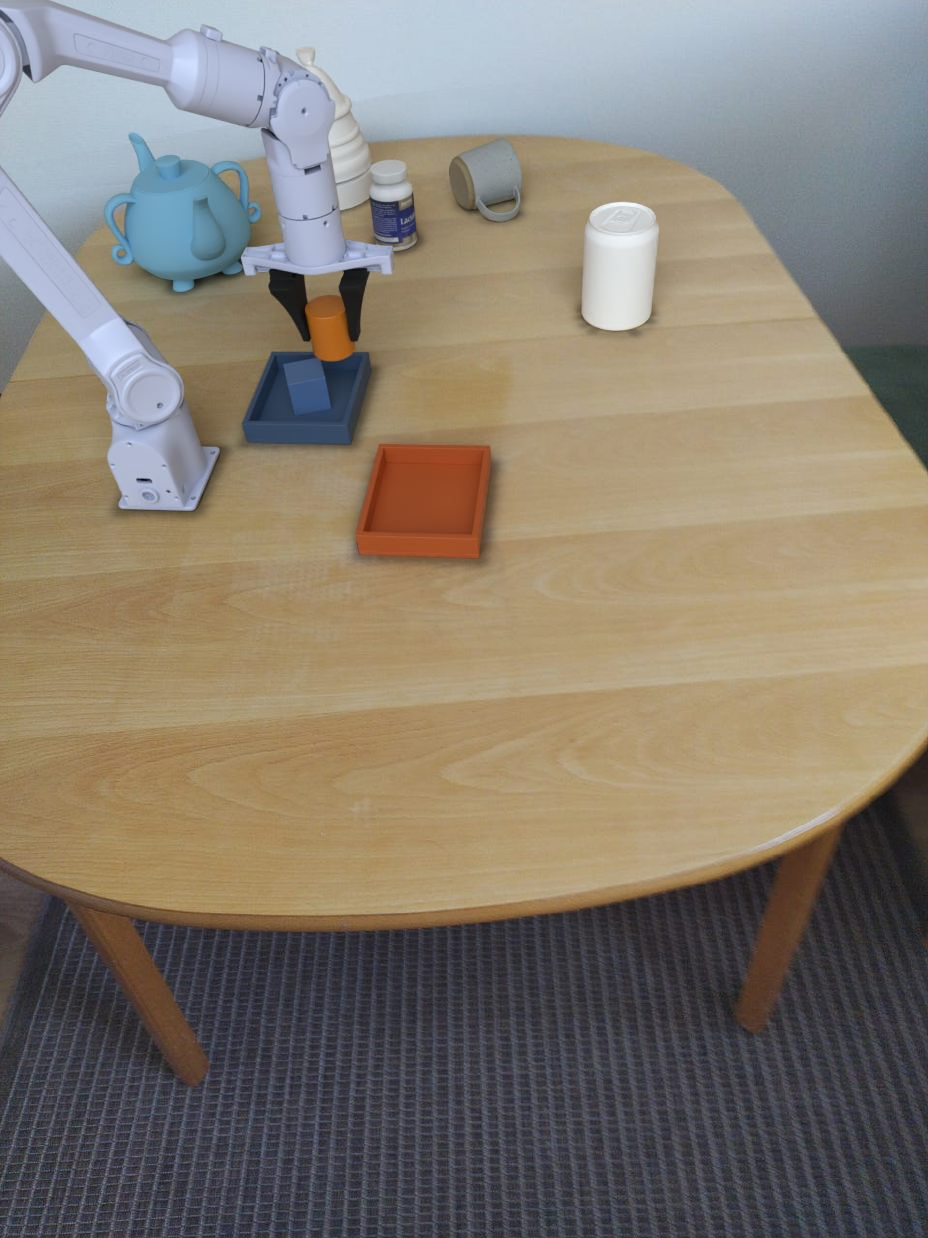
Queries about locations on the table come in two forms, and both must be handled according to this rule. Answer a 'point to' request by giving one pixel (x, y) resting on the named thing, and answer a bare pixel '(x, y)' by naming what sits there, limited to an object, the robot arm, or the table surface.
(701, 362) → the table surface
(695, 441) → the table surface
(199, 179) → the teapot
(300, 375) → the blue block
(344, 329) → the amber cylinder
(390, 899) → the table surface
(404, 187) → the pill bottle
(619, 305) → the beverage can
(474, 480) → the orange tray
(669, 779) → the table surface
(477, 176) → the ceramic mug
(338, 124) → the honey pot
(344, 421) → the blue tray
